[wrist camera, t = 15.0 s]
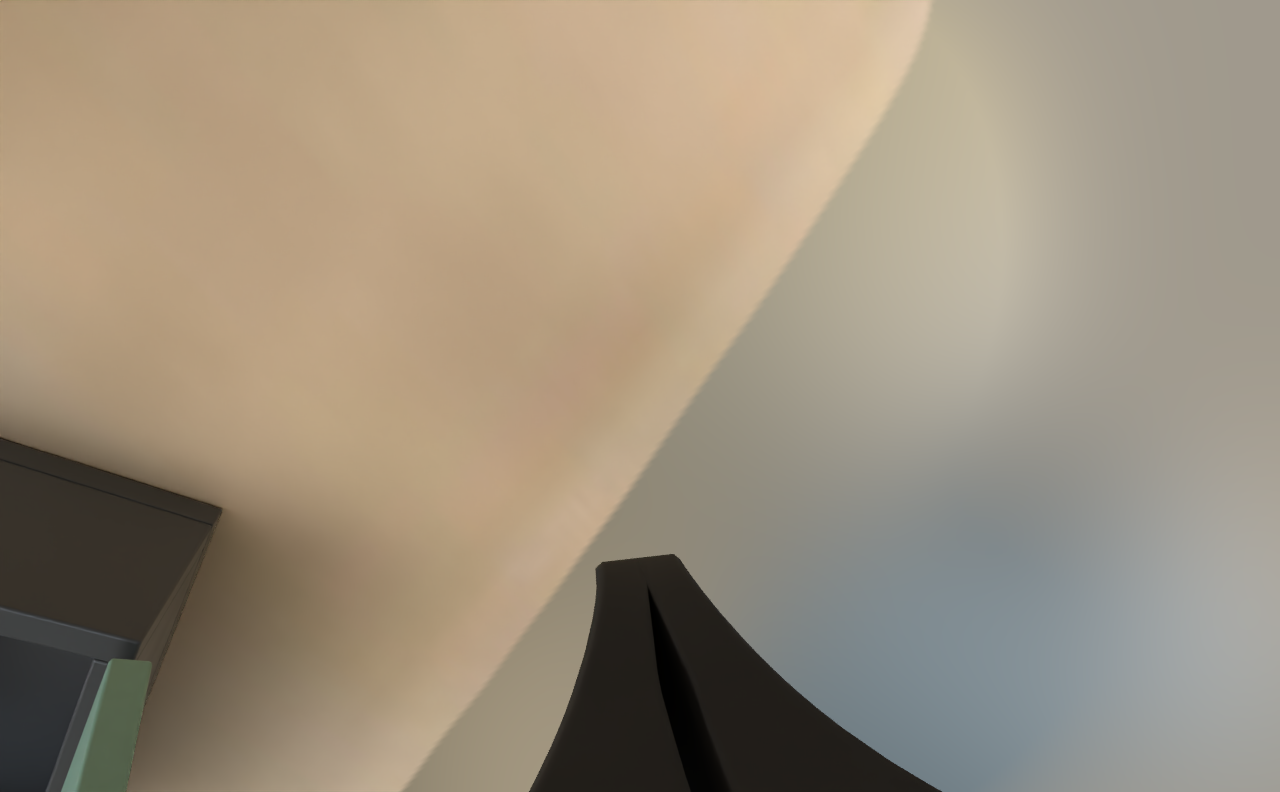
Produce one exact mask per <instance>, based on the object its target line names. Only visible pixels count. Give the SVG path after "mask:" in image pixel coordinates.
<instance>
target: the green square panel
mask: <svg viewBox="0 0 1280 792" xmlns="http://www.w3.org/2000/svg"><path fill="white" fill-rule="evenodd" d="M151 668H152V663H151V662H150V661H140V660H128V659H115V658H114V659H111V660H110V661H109V662H108V665H107V668H106V670H105V673H104V676H103V679H102V681H101V684H100V687H99V690H98V692H97V695H96V698H95V700H94V703H93V706H92V709H91V711H90V714H89V717H88V719H87V722H86V725H85V728H84V730H83V733H82V736H81V739H80V741H79V744H78V747H77V749H76V752H75V755H74V758H73V760H72V763H71V766H70V768H69V771H68V774H67V777H66V779H65V782H64V785H63V788H62V790H61V792H126V790H127V785H128V780H129V775H130V771H131V766H132V761H133V756H134V751H135V746H136V741H137V736H138V732H139V727H140V722H141V717H142V712H143V707H144V702H145V698H146V693H147V688H148V683H149V678H150V673H151Z"/></svg>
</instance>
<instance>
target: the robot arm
mask: <svg viewBox="0 0 1280 792" xmlns="http://www.w3.org/2000/svg"><path fill="white" fill-rule="evenodd" d="M596 584H597V590H596V601H595V607H594V614H593V620H592V624H591V628H590V633H589V637H588V642H587V646H586V650H585V654H584V658H583V661H582V664H581V667H580V670H579V674H578V677H577V680H576V684H575V686H574V689H573V693H572V695H571V698H570V701H569V704H568V707H567V709H566V712H565V715H564V717H563V720H562V722H561V725H560V727H559V729H558V732H557V734H556V736H555V739H554V741H553V744H552V746H551V748H550V750H549V752H548V754H547V756H546V758H545V760H544V763H543V765H542V767H541V769H540V771H539V774H538V775H537V777H536V779H535V781H534V783H533V785H532V787H531V789H530V791H529V792H942V791H940V790H938V789H936V788H934V787H933V786H931V785H929V784H928V783H926V782H924V781H923V780H921V779H919V778H918V777H915V776H914V775H913V774H911V773H909V772H908V771H906V770H904V769H903V768H901V767H899V766H897V765H896V764H894V763H893V762H891V761H890V760H888V759H886V758H885V757H884V756H882V755H881V754H879V753H877V752H876V751H875V750H873V749H872V748H871V747H869V746H868V745H866V744H865V743H863V742H862V741H860V740H859V739H858V738H856V737H855V736H853V735H852V734H850V733H849V732H847V731H846V730H845V729H843V728H842V727H841V726H839V725H838V724H836V723H835V722H834V721H833V720H832V719H830V718H829V717H828V716H826V715H825V714H824V713H823V712H821V711H820V710H819V709H818V708H816V707H815V706H814V705H813V704H811V703H810V702H809V701H808V700H807V699H806V698H804V697H803V696H802V695H801V694H800V693H799V692H797V691H796V690H795V689H794V688H793V687H792V686H791V685H790V684H788V683H787V682H786V681H785V680H784V679H783V678H782V677H781V676H780V675H779V674H778V673H777V672H776V671H774V670H773V669H772V668H771V667H770V666H769V665H768V664H767V663H766V662H765V661H764V660H763V659H762V658H761V657H760V656H759V655H758V654H757V653H756V652H755V651H754V650H753V649H752V647H751V646H750V645H749V644H748V643H747V642H746V641H745V640H744V639H743V638H742V637H741V636H740V635H739V633H738V632H737V631H736V630H735V629H734V628H733V627H732V626H731V624H730V623H729V622H728V621H727V620H726V619H725V618H724V617H723V616H722V614H721V613H720V612H719V611H718V609H717V608H716V607H715V606H714V605H713V603H712V602H711V601H710V600H709V598H708V597H707V596H706V595H705V593H703V591H702V590H701V588H700V587H699V586H698V584H697V583H696V582H695V580H694V579H693V578H692V576H691V575H690V574H689V572H688V571H687V569H686V568H685V567H684V565H683V563H682V562H681V560H680V559H679V558H678V557H676V556H675V555H674V554H669V555H661V556H652V557H643V558H634V559H625V560H617V561H608V562H602V563H601V564H600V565H599V566H598V567H597V568H596Z"/></svg>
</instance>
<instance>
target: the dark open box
mask: <svg viewBox="0 0 1280 792" xmlns="http://www.w3.org/2000/svg"><path fill="white" fill-rule="evenodd" d="M221 513H222V509H221V508H217V507H214V506H211V505H208V504H205V503H202V502H199V501H195V500H192V499H189V498H186V497H183V496H180V495H177V494H173V493H170V492H167V491H164V490H161V489H158V488H155V487H151V486H148V485H145V484H142V483H139V482H136V481H133V480H129V479H126V478H123V477H120V476H117V475H114V474H111V473H107V472H104V471H101V470H98V469H95V468H92V467H89V466H85V465H82V464H79V463H76V462H73V461H70V460H67V459H63V458H60V457H57V456H54V455H51V454H48V453H45V452H41V451H38V450H35V449H32V448H29V447H26V446H23V445H19V444H16V443H13V442H10V441H7V440H4V439H1V438H0V792H61V790H62V788H63V785H64V782H65V779H66V777H67V774H68V771H69V768H70V766H71V763H72V760H73V758H74V755H75V752H76V749H77V747H78V744H79V741H80V739H81V736H82V733H83V730H84V728H85V725H86V722H87V719H88V717H89V714H90V711H91V709H92V706H93V703H94V700H95V698H96V695H97V692H98V690H99V687H100V684H101V681H102V679H103V676H104V673H105V670H106V668H107V665H108V662H109V661H110V660H111V659H114V658H115V659H128V660H140V661H150V662H151V663H152V668H151V673H150V678H149V683H148V688H147V693H146V698H145V702H144V706H145V704H146V701H147V699H148V696H149V694H150V691H151V689H152V686H153V684H154V681H155V679H156V676H157V674H158V671H159V668H160V666H161V663H162V661H163V658H164V656H165V653H166V651H167V648H168V646H169V643H170V641H171V638H172V636H173V633H174V631H175V628H176V626H177V623H178V621H179V618H180V616H181V613H182V611H183V608H184V606H185V603H186V601H187V598H188V596H189V593H190V590H191V588H192V585H193V583H194V580H195V578H196V575H197V573H198V570H199V568H200V565H201V563H202V560H203V558H204V555H205V553H206V550H207V548H208V545H209V543H210V540H211V538H212V535H213V533H214V530H215V528H216V525H217V523H218V520H219V518H220V515H221ZM143 709H144V707H143Z"/></svg>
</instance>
